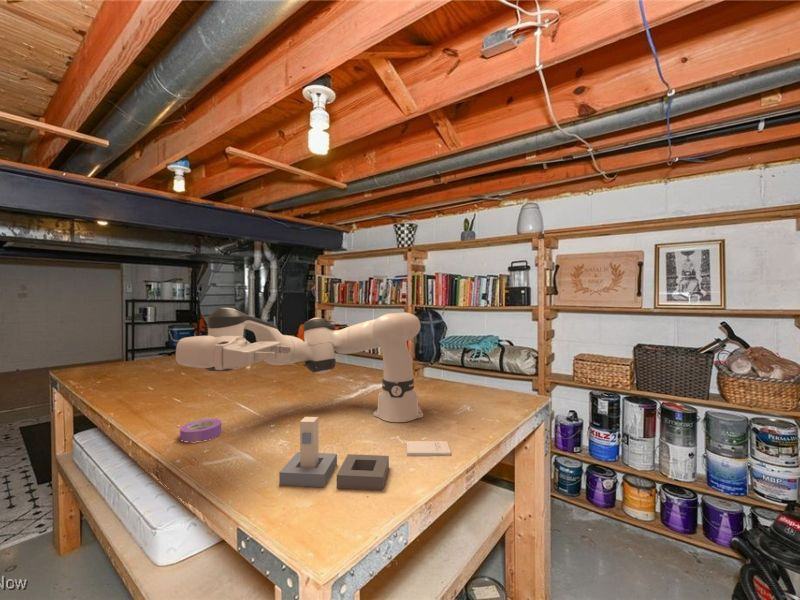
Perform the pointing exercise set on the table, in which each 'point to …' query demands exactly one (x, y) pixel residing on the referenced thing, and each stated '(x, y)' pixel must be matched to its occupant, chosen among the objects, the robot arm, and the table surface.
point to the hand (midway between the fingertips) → (283, 352)
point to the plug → (309, 442)
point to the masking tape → (200, 430)
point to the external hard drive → (427, 448)
